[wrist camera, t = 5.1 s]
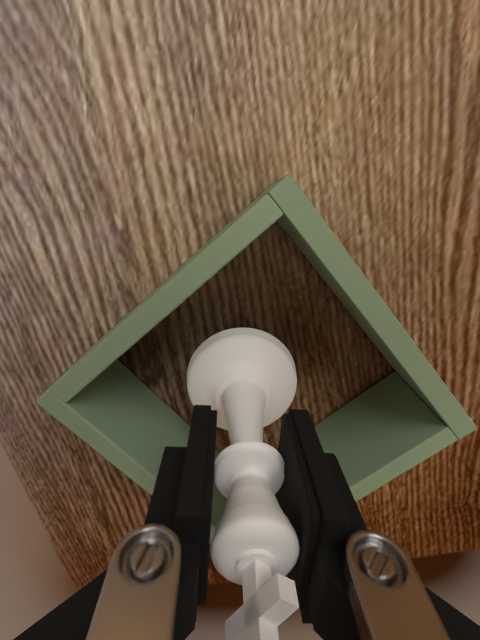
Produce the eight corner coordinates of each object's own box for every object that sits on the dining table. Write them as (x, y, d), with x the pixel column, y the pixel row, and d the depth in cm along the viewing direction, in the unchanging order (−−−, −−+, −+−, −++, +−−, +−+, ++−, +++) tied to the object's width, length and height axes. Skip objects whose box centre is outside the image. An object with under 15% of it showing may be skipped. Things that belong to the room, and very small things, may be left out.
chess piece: (318, 366, 15) (475, 646, 5) (252, 440, 16) (287, 776, 7) (229, 304, 14) (230, 518, 4) (166, 389, 15) (58, 702, 6)
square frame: (87, 350, 16) (33, 402, 12) (272, 183, 14) (289, 173, 9) (241, 489, 19) (243, 570, 15) (416, 371, 17) (478, 428, 12)
